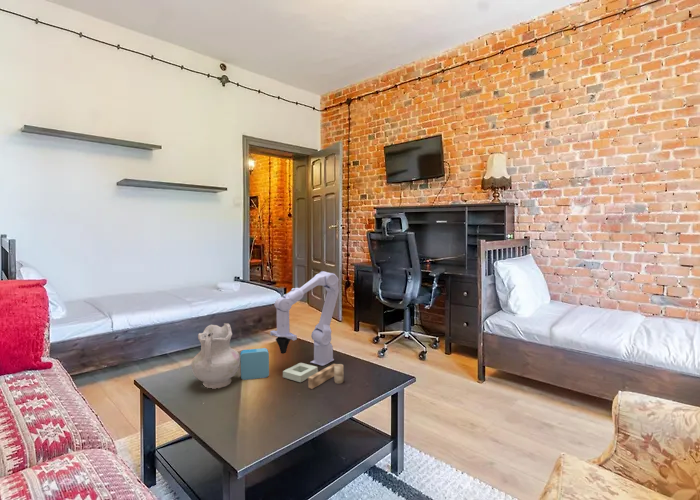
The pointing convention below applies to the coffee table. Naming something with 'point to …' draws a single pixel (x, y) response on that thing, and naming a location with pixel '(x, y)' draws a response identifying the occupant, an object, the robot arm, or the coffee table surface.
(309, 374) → the socket block
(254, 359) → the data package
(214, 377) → the ceramic pitcher
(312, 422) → the coffee table surface
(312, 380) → the oak wall
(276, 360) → the coffee table surface
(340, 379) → the birch dowel
